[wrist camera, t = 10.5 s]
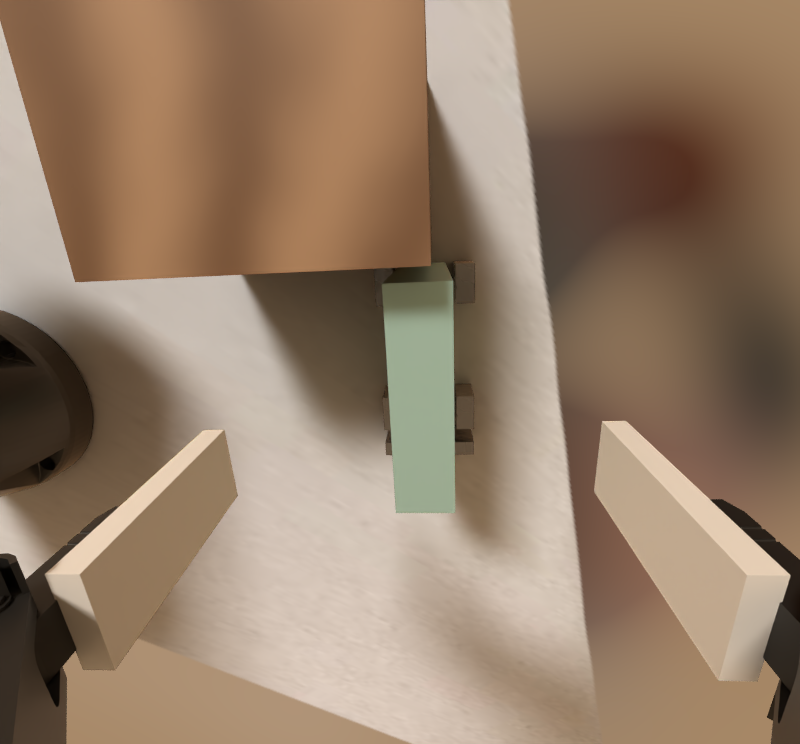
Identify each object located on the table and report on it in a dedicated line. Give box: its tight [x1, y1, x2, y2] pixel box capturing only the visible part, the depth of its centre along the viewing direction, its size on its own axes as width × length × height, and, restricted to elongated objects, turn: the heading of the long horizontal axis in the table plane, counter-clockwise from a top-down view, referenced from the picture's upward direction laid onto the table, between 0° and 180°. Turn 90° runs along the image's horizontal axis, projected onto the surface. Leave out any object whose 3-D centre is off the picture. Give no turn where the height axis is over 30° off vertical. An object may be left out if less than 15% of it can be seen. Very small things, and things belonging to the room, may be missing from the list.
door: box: [382, 262, 455, 513], centre depth 25 cm, size 3×12×12 cm, turn 3°
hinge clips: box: [374, 260, 475, 455], centre depth 30 cm, size 6×14×2 cm, turn 3°
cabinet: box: [0, 0, 431, 282], centre depth 21 cm, size 14×10×14 cm
